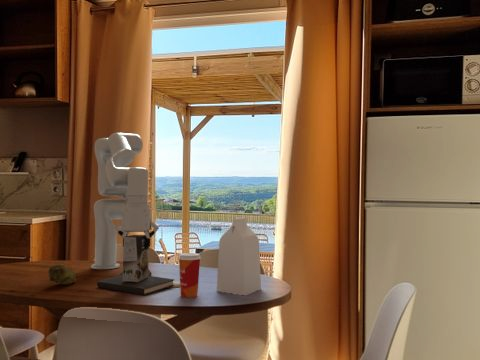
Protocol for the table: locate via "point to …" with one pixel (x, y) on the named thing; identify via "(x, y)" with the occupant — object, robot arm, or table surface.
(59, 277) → the potato
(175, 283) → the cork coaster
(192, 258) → the paper cup
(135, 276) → the coffee box
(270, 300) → the table surface
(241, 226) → the milk
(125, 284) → the hardcover book
